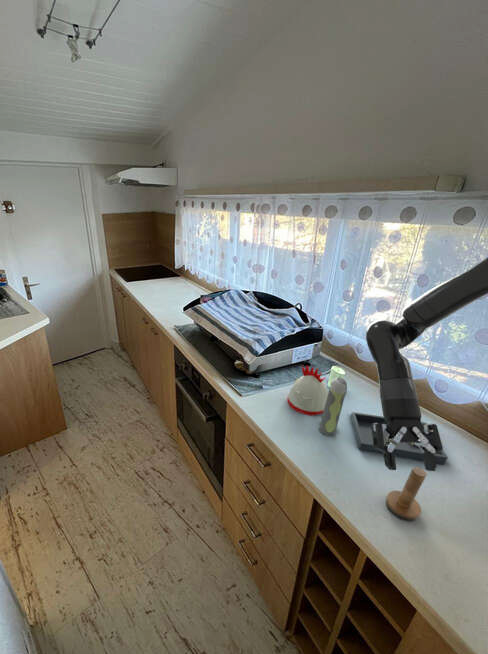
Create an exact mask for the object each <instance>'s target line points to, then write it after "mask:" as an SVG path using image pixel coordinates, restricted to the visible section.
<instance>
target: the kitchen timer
mask: <svg viewBox="0 0 488 654" xmlns="http://www.w3.org/2000/svg"><path fill="white" fill-rule="evenodd" d="M301 371H302V376H300V377H299V378H297V379H295V380H294V383H293V384H292V385H291V388H290V389H289V392H288V395H287V404H288V405H289V407H290V408H291V409H293V410H294V411H295V412H297V413H300V414H302V415H307V416H313V417H315V416H318V415H321V414H323V411H324V407H325V404H326V400H327V396H328V393H329V390H328V386H327V385H326V383H325V381H324V380H325V379H326V376H324V377H323V378H321V376H322V374H323V373H322V372H320V373H319V368H316V369H315V370H314V366H312V367H311V369H310V367H309V365H306V366H305V367H304V366H302V367H301Z"/></svg>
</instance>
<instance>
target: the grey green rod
mask: <svg viewBox="0 0 488 654" xmlns="http://www.w3.org/2000/svg"><path fill="white" fill-rule="evenodd" d="M347 390H348V384H347V381H346V380H345V378H344V379H343V378H340V377H339V378H335V379H333V380H332V383H331V387H329V390H328V396H327V400H326V404H325V407H324V411H323V413H322V415H321V419H320V422H319V425H318V432H319V433H321V434H322V435H323V436H326V437H333V436H335V434H336V432H337V428H338V425H339V420H340V416H341V412H342V408H343V405H344V403H345V397H346V394H347Z"/></svg>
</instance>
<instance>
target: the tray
mask: <svg viewBox="0 0 488 654" xmlns="http://www.w3.org/2000/svg"><path fill="white" fill-rule="evenodd" d="M349 420H350V423H351V426H352V427H351V428H352V430H353V434H354V436H355V440H356V444H357V447H358V450H359V451H363V452H369V453H375V454H381V455H383V452H382V451H381V450H378V449H375V448H374V447H373V437H372V426H371V425H372V424H373V423H381V424H385V419H384V417H383V415H375V414H368V413H361V412H354V411H351V413H350V417H349ZM421 423H422V424H423V425H426V424H428V423H427V422H422V421H421ZM388 434H389V433H388V432H387V431H386V430H385V431H384V432H383V438H384V443H385V439H386V438H387V436H388ZM422 434H423V436H424V437H425V438H426V439H427V435H426V433H425V432H424V431H423V433H422ZM427 440H428V439H427ZM392 453H394V457H397V458H398V457H399V458H403V459H404V458H405V459H410V460H416V461H420V462H424V459H423V454H424V452H423V451H422V450H421V449H420V448H419V447H418V446H417V445H412V444H411V443H408V442H399V444H398V445H396V446H395V448H394V450H393V451H392ZM434 455H435V460H436V464H439V465H445V463H446V462H447V460H448V456H447V453H445V451H444V449H443V450H442V451H437V452H435V454H434Z"/></svg>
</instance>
